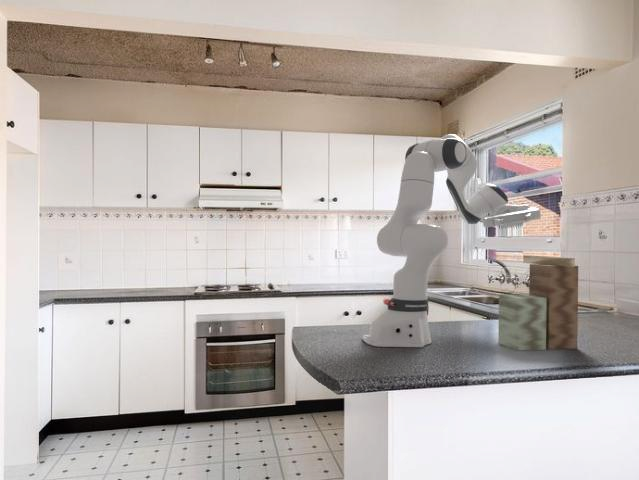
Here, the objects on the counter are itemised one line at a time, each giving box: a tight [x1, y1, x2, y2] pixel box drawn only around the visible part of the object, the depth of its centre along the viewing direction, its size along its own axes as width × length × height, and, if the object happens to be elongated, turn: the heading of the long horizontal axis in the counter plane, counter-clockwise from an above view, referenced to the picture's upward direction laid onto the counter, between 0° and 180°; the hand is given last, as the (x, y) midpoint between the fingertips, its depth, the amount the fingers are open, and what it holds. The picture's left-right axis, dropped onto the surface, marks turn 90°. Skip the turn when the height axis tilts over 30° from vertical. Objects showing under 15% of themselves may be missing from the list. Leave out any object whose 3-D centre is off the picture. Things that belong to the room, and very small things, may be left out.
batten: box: [522, 255, 576, 267], centre depth 150 cm, size 3×22×3 cm, turn 10°
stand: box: [497, 263, 579, 351], centre depth 146 cm, size 21×10×26 cm, turn 100°
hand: (515, 220), depth 163 cm, fingers open, 8 cm apart
